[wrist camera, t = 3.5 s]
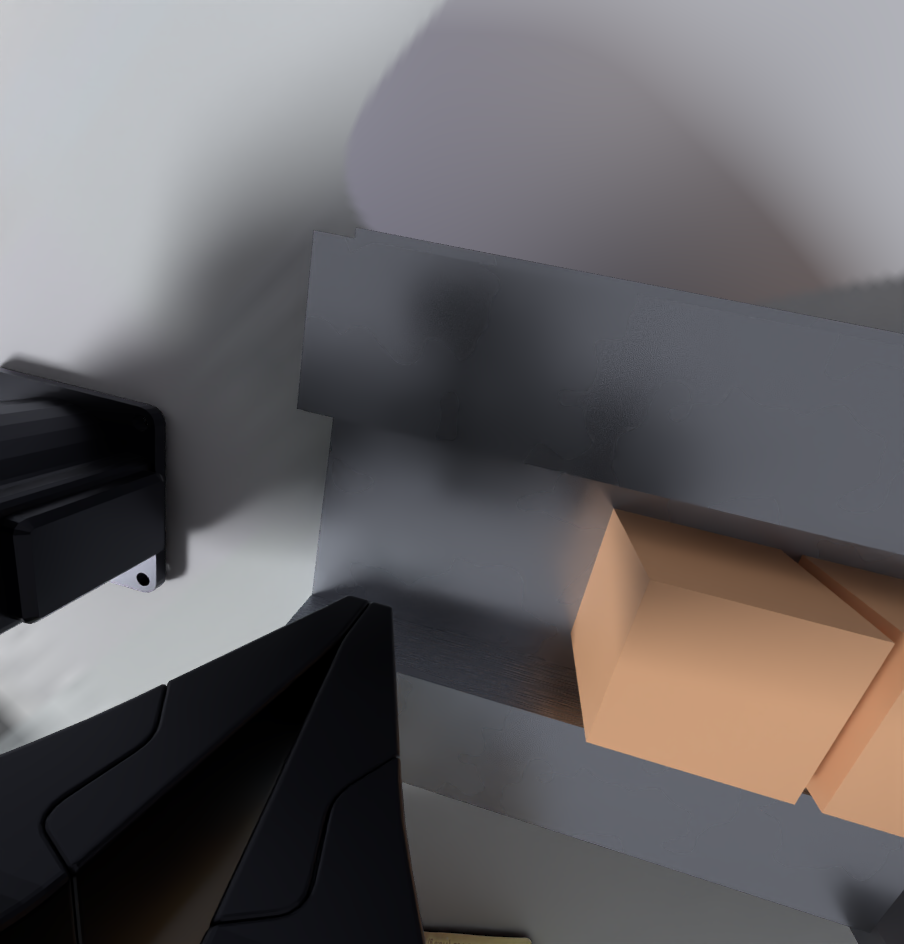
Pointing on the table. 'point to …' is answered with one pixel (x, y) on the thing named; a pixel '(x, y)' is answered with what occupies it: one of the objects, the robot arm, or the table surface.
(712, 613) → the chip
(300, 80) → the table surface
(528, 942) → the candy box
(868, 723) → the tan cube
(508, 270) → the slot board
